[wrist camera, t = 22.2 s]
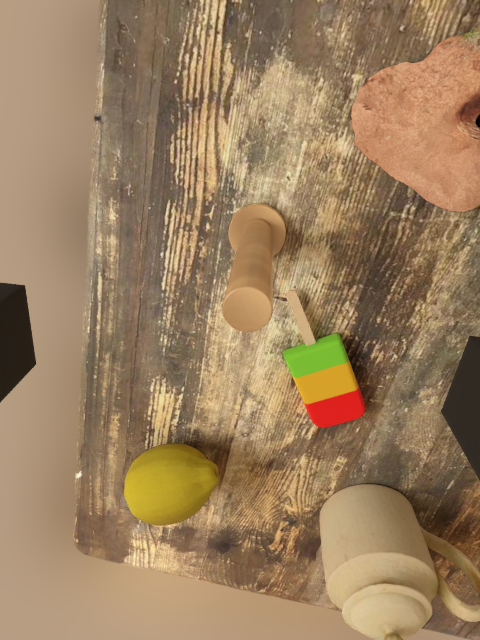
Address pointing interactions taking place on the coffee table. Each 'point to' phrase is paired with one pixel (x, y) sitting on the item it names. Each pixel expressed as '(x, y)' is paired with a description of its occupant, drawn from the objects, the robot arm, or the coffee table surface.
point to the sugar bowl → (386, 563)
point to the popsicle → (323, 374)
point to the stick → (252, 266)
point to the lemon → (169, 483)
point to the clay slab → (427, 122)
